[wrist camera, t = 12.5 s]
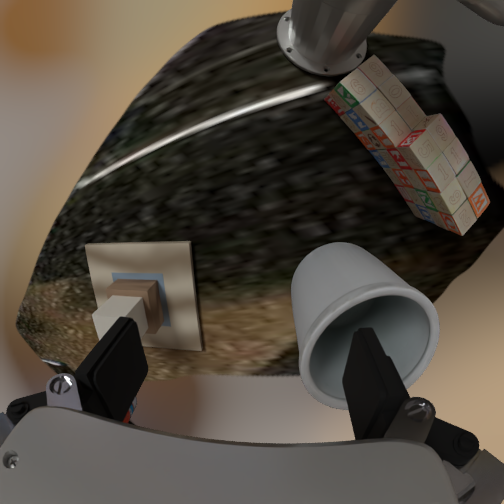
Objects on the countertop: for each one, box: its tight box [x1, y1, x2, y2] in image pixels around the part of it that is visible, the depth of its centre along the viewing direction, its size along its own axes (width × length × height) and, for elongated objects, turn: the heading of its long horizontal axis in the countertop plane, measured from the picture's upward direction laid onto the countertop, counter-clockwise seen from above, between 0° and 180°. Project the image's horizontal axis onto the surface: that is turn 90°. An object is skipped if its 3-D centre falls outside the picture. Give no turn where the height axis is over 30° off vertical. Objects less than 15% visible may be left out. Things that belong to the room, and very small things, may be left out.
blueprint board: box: [85, 241, 203, 351], centre depth 42 cm, size 18×18×1 cm
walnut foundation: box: [106, 279, 164, 334], centre depth 39 cm, size 7×7×4 cm
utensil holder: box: [291, 242, 440, 410], centre depth 32 cm, size 15×15×18 cm
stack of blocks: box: [325, 55, 490, 236], centre depth 28 cm, size 21×6×12 cm, turn 44°
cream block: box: [92, 295, 148, 340], centre depth 35 cm, size 5×5×6 cm
